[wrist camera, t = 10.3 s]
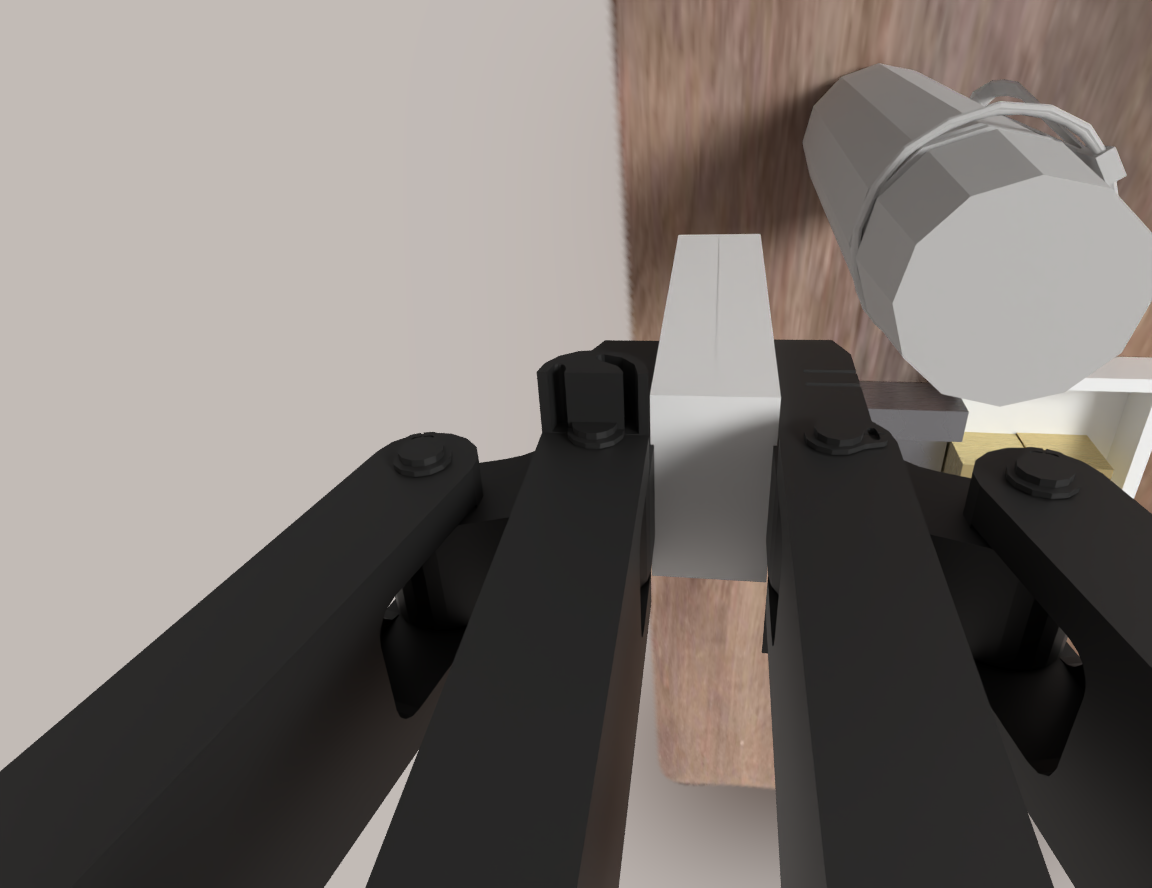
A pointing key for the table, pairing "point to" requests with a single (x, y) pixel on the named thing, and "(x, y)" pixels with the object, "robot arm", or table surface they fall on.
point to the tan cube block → (974, 450)
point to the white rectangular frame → (1088, 416)
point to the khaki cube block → (1069, 448)
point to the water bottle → (979, 232)
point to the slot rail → (917, 419)
